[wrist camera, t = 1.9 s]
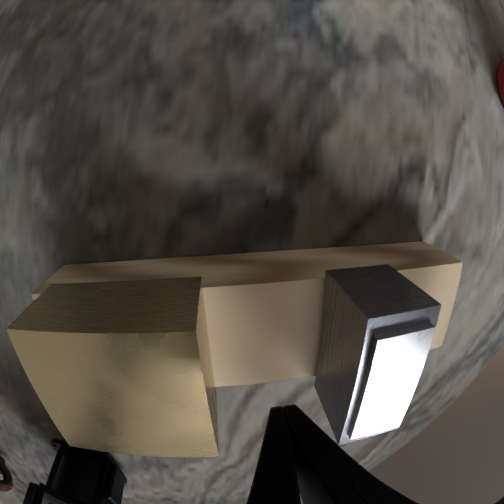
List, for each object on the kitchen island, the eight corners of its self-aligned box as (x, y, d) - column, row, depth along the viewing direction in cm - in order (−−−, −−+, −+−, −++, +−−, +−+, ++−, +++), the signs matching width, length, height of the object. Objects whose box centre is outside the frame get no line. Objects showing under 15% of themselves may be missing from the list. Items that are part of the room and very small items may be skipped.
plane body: (86, 343, 17) (65, 382, 13) (64, 264, 15) (31, 293, 11) (410, 316, 19) (441, 346, 15) (423, 241, 17) (463, 262, 13)
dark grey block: (314, 386, 14) (340, 450, 10) (325, 269, 12) (372, 323, 8) (366, 376, 14) (401, 432, 10) (387, 264, 12) (446, 308, 8)
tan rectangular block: (90, 391, 13) (69, 445, 10) (51, 283, 11) (6, 328, 7) (216, 393, 14) (219, 456, 10) (201, 276, 12) (195, 331, 8)
